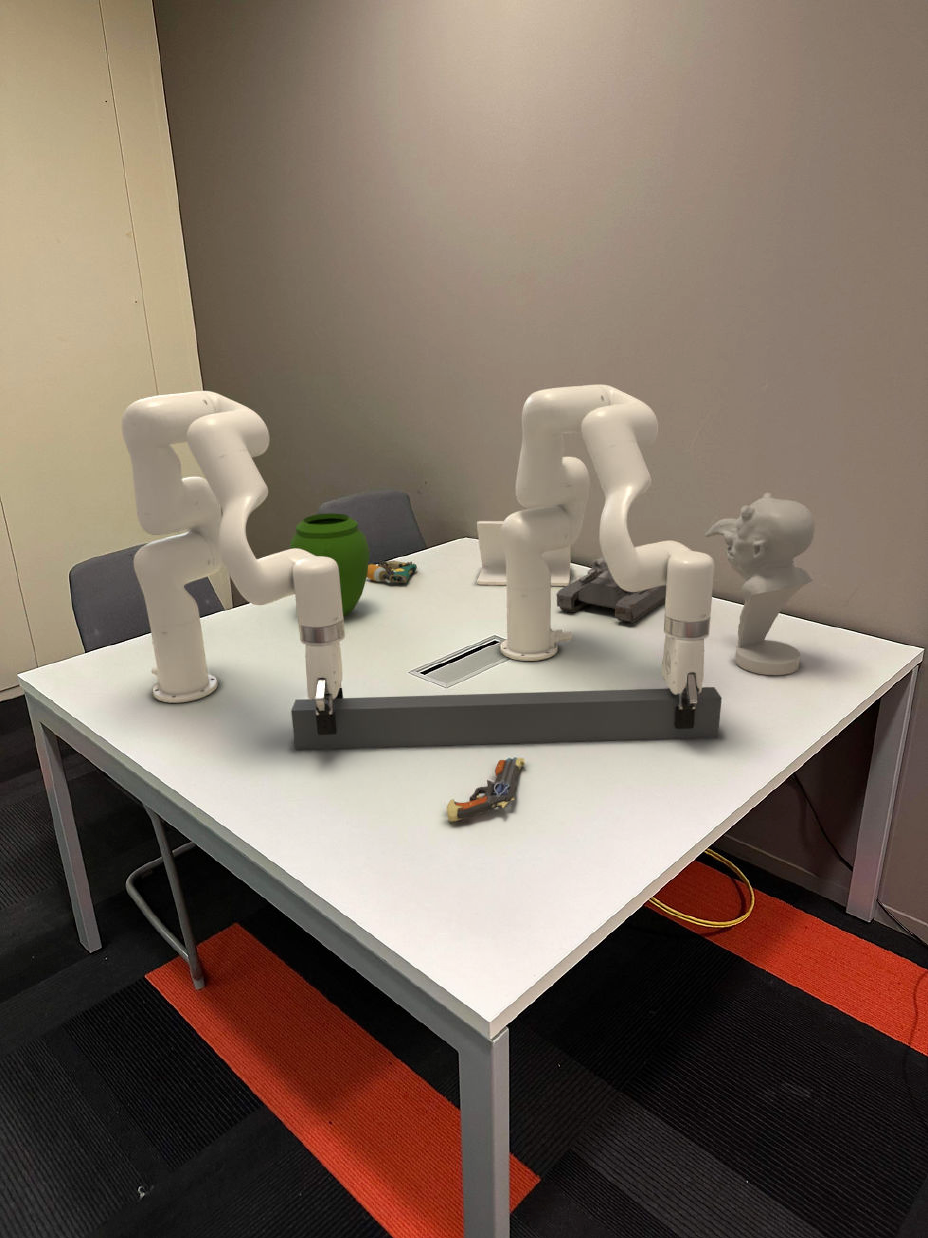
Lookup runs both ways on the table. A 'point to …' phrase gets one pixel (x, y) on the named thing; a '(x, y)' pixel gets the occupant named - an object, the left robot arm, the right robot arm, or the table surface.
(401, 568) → the spray gun
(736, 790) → the table surface
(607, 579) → the toy
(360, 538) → the vase
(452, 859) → the table surface
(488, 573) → the tablet stand
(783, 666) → the bust sculpture
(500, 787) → the toy gun
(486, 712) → the post
